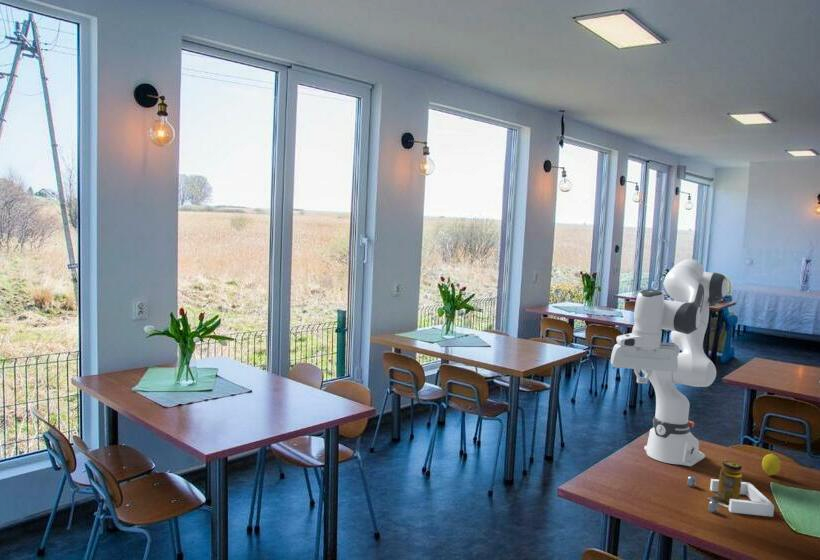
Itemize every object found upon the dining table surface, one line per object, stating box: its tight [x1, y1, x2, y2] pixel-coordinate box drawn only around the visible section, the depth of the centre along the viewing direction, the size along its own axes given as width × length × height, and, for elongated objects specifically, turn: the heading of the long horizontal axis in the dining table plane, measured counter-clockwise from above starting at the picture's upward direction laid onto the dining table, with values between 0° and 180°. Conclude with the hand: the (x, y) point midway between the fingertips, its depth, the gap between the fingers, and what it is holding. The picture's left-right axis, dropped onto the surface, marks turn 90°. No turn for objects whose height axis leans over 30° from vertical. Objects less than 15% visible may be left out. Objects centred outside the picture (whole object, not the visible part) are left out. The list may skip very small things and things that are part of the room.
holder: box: [709, 478, 775, 518], centre depth 187 cm, size 12×16×4 cm
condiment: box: [707, 460, 743, 509], centre depth 187 cm, size 7×8×12 cm
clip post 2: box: [707, 499, 719, 515], centre depth 179 cm, size 2×2×3 cm
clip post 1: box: [686, 475, 697, 489], centre depth 197 cm, size 2×2×3 cm
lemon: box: [761, 452, 781, 477], centre depth 210 cm, size 6×6×8 cm
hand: (641, 382), depth 194 cm, fingers closed
